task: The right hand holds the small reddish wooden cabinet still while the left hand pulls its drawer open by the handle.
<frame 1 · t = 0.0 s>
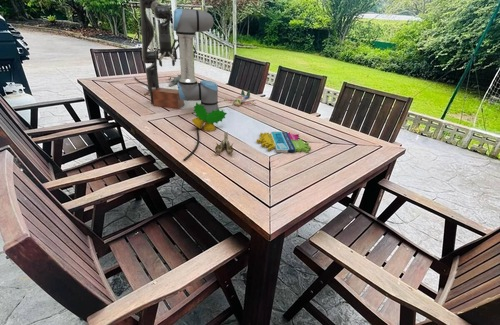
left hand: (167, 66, 183), 29 cm above the table, tool pointing down, fingers open, 8 cm apart
right hand: (184, 61, 211), 28 cm above the table, tool pointing down, fingers open, 13 cm apart
cabinet: (169, 105, 200), on the table
jawbone: (224, 151, 138), on the table
toy: (241, 101, 221), on the table
airplane: (179, 82, 267), on the table
ornament: (209, 128, 165), on the table
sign: (281, 143, 152), on the table
drawer: (161, 97, 198), point 6 cm above the table, slide at 1.1 cm
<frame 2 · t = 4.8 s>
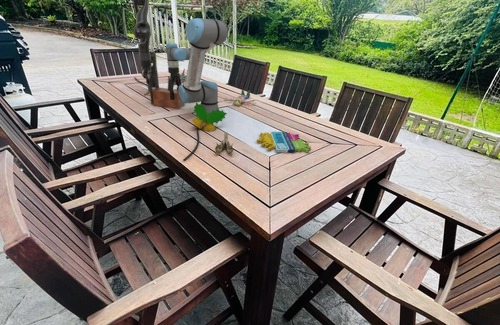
left hand: (148, 83, 195), 15 cm above the table, tool pointing down, fingers closed
right hand: (175, 97, 196), 7 cm above the table, tool pointing down, fingers closed on cabinet, 11 cm apart
cabinet: (169, 105, 200), on the table, touching right hand
everything else where it was.
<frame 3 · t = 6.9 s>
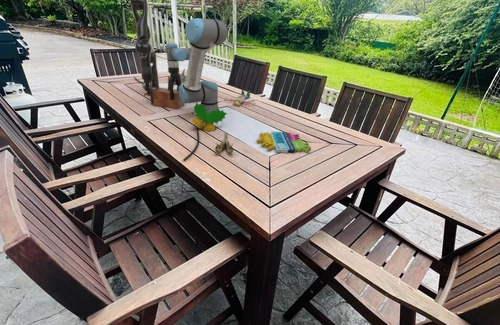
left hand: (149, 95, 199), 6 cm above the table, tool pointing down, fingers closed
right hand: (175, 97, 196), 7 cm above the table, tool pointing down, fingers closed on cabinet, 11 cm apart
cabinet: (169, 105, 200), on the table, touching right hand
drawer: (161, 97, 198), point 6 cm above the table, slide at 1.1 cm, touching left hand
everything else where it was.
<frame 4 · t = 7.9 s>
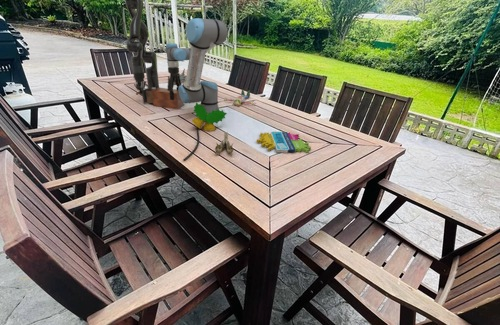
left hand: (141, 95, 200), 6 cm above the table, tool pointing down, fingers closed
right hand: (175, 97, 196), 7 cm above the table, tool pointing down, fingers closed on cabinet, 11 cm apart
cabinet: (169, 105, 200), on the table, touching right hand
drawer: (153, 96, 199), point 6 cm above the table, slide at 7.3 cm, touching left hand
everything else where it was.
when the right hand's fingers open (7 cm above the table, at t = 9.6 s): cabinet stays where it is, on the table.
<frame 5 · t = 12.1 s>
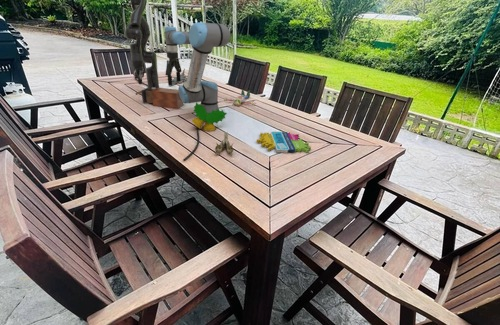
left hand: (140, 84, 196), 14 cm above the table, tool pointing down, fingers closed
right hand: (174, 83, 191), 17 cm above the table, tool pointing down, fingers open, 13 cm apart
cabinet: (168, 105, 200), on the table
drawer: (153, 96, 199), point 6 cm above the table, slide at 7.5 cm
everything else where it was.
at the end: drawer slide at 7.5 cm; cabinet tilted 0°; cabinet never tilted more than 3° during the clip; cabinet moved 0.5 cm from its start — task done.
